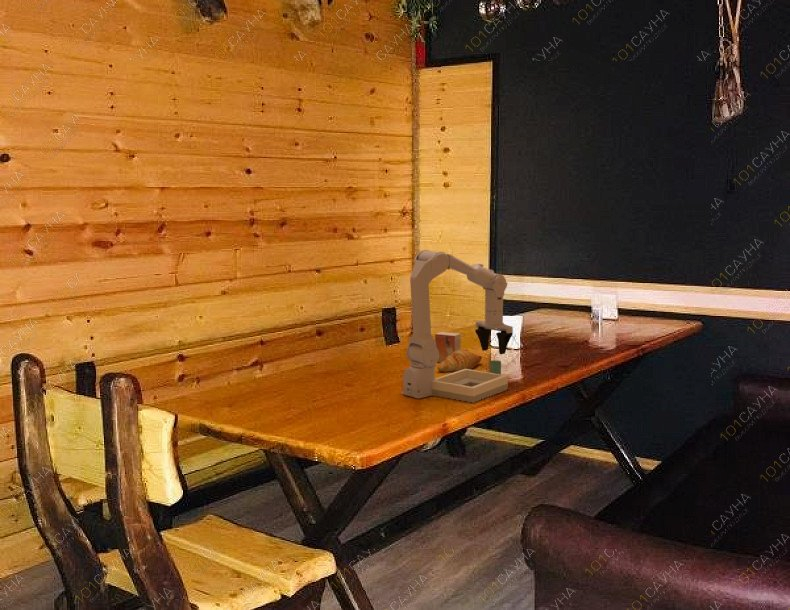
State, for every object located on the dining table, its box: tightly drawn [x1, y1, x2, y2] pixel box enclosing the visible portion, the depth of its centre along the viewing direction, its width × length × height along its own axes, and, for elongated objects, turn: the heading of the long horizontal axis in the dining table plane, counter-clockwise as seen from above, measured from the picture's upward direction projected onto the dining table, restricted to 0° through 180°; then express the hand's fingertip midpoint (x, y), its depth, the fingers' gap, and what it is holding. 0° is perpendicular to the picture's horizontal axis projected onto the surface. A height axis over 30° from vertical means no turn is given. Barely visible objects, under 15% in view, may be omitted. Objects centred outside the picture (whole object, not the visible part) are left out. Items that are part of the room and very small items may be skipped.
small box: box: [434, 331, 462, 363], centre depth 298 cm, size 8×6×10 cm
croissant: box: [436, 348, 483, 373], centre depth 288 cm, size 21×10×8 cm, turn 133°
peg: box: [489, 360, 502, 374], centre depth 266 cm, size 4×4×7 cm
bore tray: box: [432, 369, 509, 404], centre depth 255 cm, size 20×16×4 cm
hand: (493, 352), depth 266 cm, fingers open, 7 cm apart
